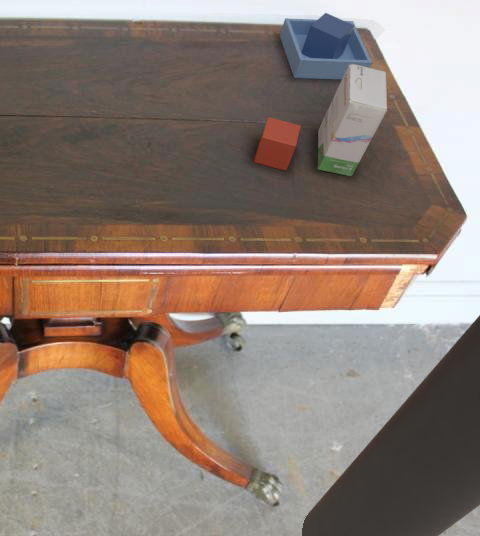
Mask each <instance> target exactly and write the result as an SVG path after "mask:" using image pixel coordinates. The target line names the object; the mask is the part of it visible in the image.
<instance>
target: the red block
mask: <svg viewBox="0 0 480 536" xmlns="http://www.w3.org/2000/svg"><path fill="white" fill-rule="evenodd" d="M301 127H302V126H301V125H300V124H296V123H292V122H289V121H284V120H281V119H278V118H274V117H269V116H268V117H267V119H266V122H265V124H264V127H263V131H262V133H261V136H260V139H259V143H258V146H257V149H256V153H255V156H254V160H253V162H254V163H255V164H259V165H264V166H267V167H271V168H274V169H278V170H281V171H284V172H285V171H287V170H288V169H289V168H288V167H289V165H290V162H291V160H292V157H293V156H294V153H295V150H296V147H297V143H298V139H299V135H300V132H301Z"/></svg>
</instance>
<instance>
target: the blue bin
mask: <svg viewBox="0 0 480 536" xmlns="http://www.w3.org/2000/svg"><path fill="white" fill-rule="evenodd" d="M317 20H318V19H311V18H310V19H309V18H287V17H285V18H284V21H283V24H282V27H281V31H280V33H279V39H280V42H281V44H282V46H283V50H284V54H285V56H286V59H287V60H288V61H287V63H288V64H289V66H290V70H291V73H292V76H293V78H294V79H311V80H312V79H313V80H340V81H342V79H343V76H344V74H345V72H346V70H347V68H348V66H349V65H351V64H355V65H359V66H364V67H369V68H372V64H373V61H372V59H371V56H370V54H369V52H368V49H367V48H366V45H365V43H364V42H363V39H362V37H361V36H360V33H359V31H358V29H357V27H356V24H355V22H354V21H353V20H344V21H345V22H348V23H350V24H352V25H354V28H353V31H352V33H351V36H350V38H349V41H348V43H347V46H346V48H345V50H344V53H343V54H342V55H341V56H340V57H339V58H338V59H321V58H310V57H307V56H305V55H303V54H302V53H301V52H302V49H303V46H304V43H305V40H306V38H307V35H308V32H309V29H310V26H311V25H312V24H313V23H314V22H315V21H317Z"/></svg>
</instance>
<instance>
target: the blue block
mask: <svg viewBox="0 0 480 536" xmlns="http://www.w3.org/2000/svg"><path fill="white" fill-rule="evenodd" d="M316 20H317V21H315V22H314V23H313V24H312V25H311V26H310V29H309V32H308V35H307V38H306V40H305V43H304V46H303V49H302V52H301V53H302V54H303V55H305V56H307V57H310V58H321V59H338V58H339V57H340V56H341V55H342V54H343V53H344V50H345V48H346V46H347V43H348V41H349V38H350V36H351V33H352V31H353V28H354V25H352V24H350V23H348V22H345V21H346V20H344V19H341V18H339V17H336V16H334V15H332V14H330V13H327V12H325V13H324V14H322V15H321V16H320V17H319V18H318V19H316Z"/></svg>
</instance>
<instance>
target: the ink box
mask: <svg viewBox="0 0 480 536" xmlns="http://www.w3.org/2000/svg"><path fill="white" fill-rule="evenodd" d="M387 94H388V93H387V72H386V70H382V69H377V68H372V67H370V68H369V67H364V66H359V65H355V64H351V65H349V66H348V68H347V70H346V72H345V74H344V76H343V79H342V80H340V83H339V85H338V87H337V89H336V92H335V94H334V96H333V98H332V100H331V102H330V105H329V106H328V109H327V111H326V113H325V114H324V115H325V116H324V117H323V120H322V122H321V124H320V126H319V128H318V131H317V132H318V133H317V134H318V137H317V139H318V140H317V167H316V169H317V170H318V171H324V172H328V173H334V174H338V175H342V176H347V177H352V176H353V175H354V173H355V171H356V169H357V167H358V165H359V164H360V162H361V159H362V158H363V156H364V155H365V152H366V151H367V148H368V147H369V145H370V143H371V141H372V140H373V137H374V136H375V134H376V132H377V130H378V129H379V126H380V125H381V123H382V121H383V119H384V117H385V115H386V113H387V112H388V101H387V99H388V98H387V97H388V96H387Z"/></svg>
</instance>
